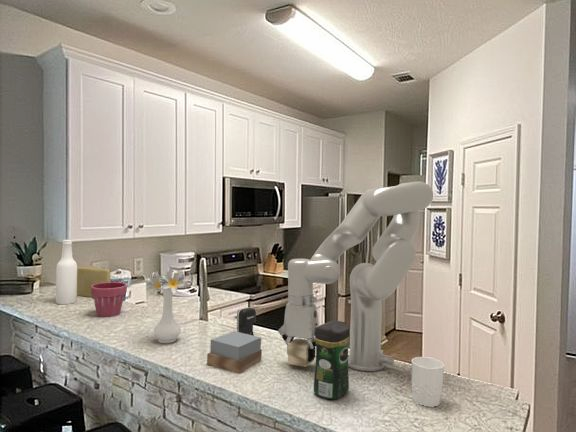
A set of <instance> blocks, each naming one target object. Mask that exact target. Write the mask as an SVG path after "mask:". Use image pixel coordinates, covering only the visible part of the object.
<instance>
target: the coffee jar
mask: <svg viewBox="0 0 576 432" xmlns="http://www.w3.org/2000/svg"><path fill="white" fill-rule="evenodd" d="M314 337H315V342H316V346H315V365H314V367H315V368H314V377H313V392H314V394H315V395H316V396H318V397H320V398H322V399H324V400H325V399H326V400H327V399H328V400H337V399H340V398H341V397H343V396H344V395H345V394H346V393H347V392H348V391H349V389H350V387H349V386H350V385H349V384H350V383H349V381H350V380H349V379H350V378H349V366H348V355H349V346H350V326H349V325H348V324H347V322H345V321H340V320H337V319H333V320H330V321H328V322H325V323H323V324H319V326H318V327H316V329H315V336H314Z"/></svg>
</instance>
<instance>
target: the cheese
mask: <svg viewBox="0 0 576 432" xmlns="http://www.w3.org/2000/svg"><path fill="white" fill-rule="evenodd" d="M111 279H112V278H111V270H110V269H108V268H102V267H98V266H95V265H86V266H85V265H84V266H79V267H78V266H77V297H78V296H80V297H87V298H93V299H94V297H93V296H92V295H91V286H92V285H94V284H97V283H104V282H112V280H111Z"/></svg>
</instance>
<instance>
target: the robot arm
mask: <svg viewBox="0 0 576 432" xmlns="http://www.w3.org/2000/svg"><path fill="white" fill-rule="evenodd" d="M433 199H434V191H433V189H432V187H431V186H430V185H429V184H428V183H426V182H424V181H411V182H402V183H399V184H397V185H394V186H387V187H377V188H369V189H367V190H366V191H364V192H363V193H362V194H361V196H360V197H359V198H358V199H357V201H356V203H355V204H354V205H353V206H352V208H351V209H350V211H349V212H348V213H347V215H346V216H345V218H344V219H343V220H342V222H341V223H340V224H339V225H338V226H337V227H336V228H335V229H334V230H333V231H332V232H331V233H330V234H328V236H327V237H326V238H325V239H324V241H323V242H322V243H321V244H320V245H319V247H318V248H317V250H316V251H315V252H314V253H313V255H312V256H311V258H310V259H308V258H292V259H290V260H289V261H288V263H287V273H288V274H287V281H288V284H287V285H288V286H287V287H288V288H287V289H288V290H287V291H288V292H287V296H288V300H287V301H288V302H287V303H286V305H285V310H284V318H283V320H284V321H283V325H281V327H280V328H278V330H277V333H278V334H279V335H280V336H281V337H282V339H283V341H284V342H285V345H287V346H286V347H287V348H286V349H287V351H286V352H287V353H286V354H288V343H290V342H291V341H293V340H294V339H295V338H300V339H306V340H307V341H308V344H309V349H308V361H309V362H311V361H312V360H313V359H314V360H315V359H316V342H315V329H316V327H318V326H320V323H319V313H318V308H317V304H316V303H317V302H318V298H317V297H315V295H314V284H321V285H322V284H323V285H331V284H333V283H335V282H337V281H338V279H339V278H340V276H341V267H340V266H339V263H337V261H338V259H339V258H340V257H341V256H342V255H343V254H344V253H345V252H346V251H348V250H349V249H351V248H353V247H355V246H357V245H359V244H360V243H362V242H363V241H364V240H365V239H366V237H367V235H369V233H370V231H371V230H372V229H373V227H374V226H375V224H376V223H377V222H378V220H379V219H380V217H390V216H393V217H392V219H391V221H390V222H389V224H388V225H387V227H386V228H385V230H384V231H383V232H382V234H381V235H380V237H379V238H378V239H377V240H376V242H375V244H374V245H373V246H372V252H371V253H372V257H373V259H374V260H375V263H374V264H373V263H370V262H362V263H358V264H357V265H355V266H354V267H353V268H352V270H351V273H350V275H349V289H350V290H349V291H350V326H349V333H350V338H349V354H348V368H350V369H353V370H357V371H361V372H376V371H381V370H384V369H385V367H386V365H391V366H394V364H395V358H393V356H392V355H386V354H384V350H383V349H381V347H382V346H381V345H382V316H383V315H382V314H383V306H382V305H383V303H382V301H384V300H386V299H387V298H389V297H390V296H391V295H393V293H394V292H395V291H396V289H397V288H398V286H399V285H400V284H401V282H403V280H404V278H405V277H406V276H407V274H408V273H409V271H410V270H411V268H412V267H413V265H414V262H415V258H416V250H415V246H414V245H413V244H412V241H413V239H414V237H415V236H416V235H417V234H418V233H417V232H418V231H419V228H420V222H421V217H420V211H421V210H424V209H426V208H428V207H429V206H430V205H431V204H432V202H433ZM312 362H313V361H312ZM312 362H311V363H312Z"/></svg>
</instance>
